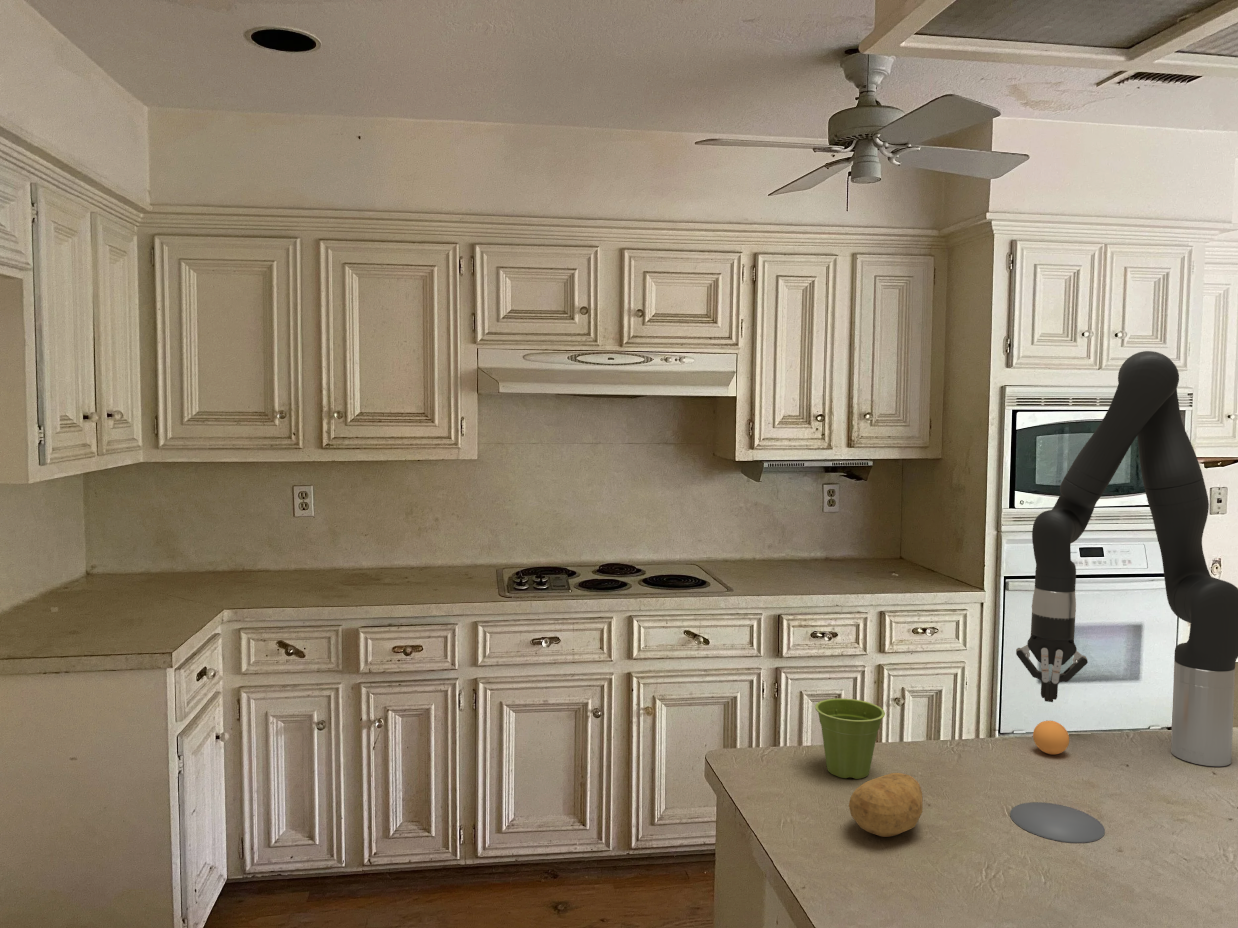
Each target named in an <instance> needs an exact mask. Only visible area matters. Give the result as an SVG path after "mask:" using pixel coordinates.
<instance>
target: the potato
mask: <svg viewBox="0 0 1238 928" xmlns="http://www.w3.org/2000/svg"><path fill="white" fill-rule="evenodd" d="M921 788H922V787H921V785H920V783H919V781H917V780H916V779H915V778H914V777H913V776H911V775H910V774H905V773H902V772H891V773H888V774H885V775H882V776H878V777H876V778H872V779H870V780H868V781H865V782H864V783H862V784H861V785H860V786H858V787H856V788H855V789H854V791H853V793H851V796H850V799H849V803H848V808H849V812H850V816H851V817H852V818H853V819H854V821H855V822H856V823H857V825H858V826H859V828H860V829H863V830H865V832H867V833H870V834H873V835H877V836H879V837H881V838H882V837H884V838H885V837H888V838H889V837H890V838H891V837H895V836H898V835H900V834H902V833H904V832H907V831H909V830H911V829H913V828H915V827H916V825H917V823H918V822H919V819H920V818H921V816H922V813H923V804H924V803H923V791H922V789H921Z"/></svg>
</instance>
